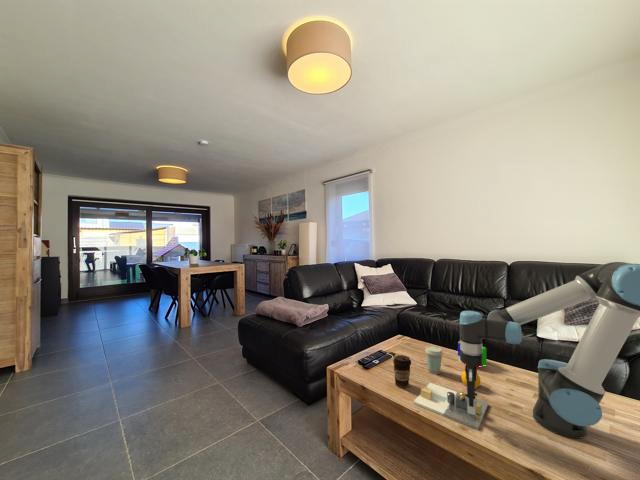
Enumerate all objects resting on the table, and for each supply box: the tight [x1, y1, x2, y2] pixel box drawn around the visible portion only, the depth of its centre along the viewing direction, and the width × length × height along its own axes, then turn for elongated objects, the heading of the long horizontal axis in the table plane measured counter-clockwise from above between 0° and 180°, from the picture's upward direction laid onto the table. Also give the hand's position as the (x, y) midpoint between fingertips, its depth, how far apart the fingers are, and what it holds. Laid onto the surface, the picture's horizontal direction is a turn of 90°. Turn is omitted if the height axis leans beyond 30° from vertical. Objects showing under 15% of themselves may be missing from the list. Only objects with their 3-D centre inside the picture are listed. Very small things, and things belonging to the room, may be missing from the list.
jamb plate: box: [443, 391, 489, 431], centre depth 108 cm, size 12×20×1 cm, turn 139°
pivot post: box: [447, 392, 455, 404], centre depth 112 cm, size 3×3×4 cm
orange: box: [461, 370, 482, 389], centre depth 126 cm, size 8×8×8 cm
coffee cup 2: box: [425, 345, 444, 375], centre depth 140 cm, size 8×8×12 cm
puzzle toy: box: [457, 343, 488, 368], centre depth 150 cm, size 10×10×10 cm
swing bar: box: [456, 391, 482, 414], centre depth 107 cm, size 9×3×5 cm, turn 49°
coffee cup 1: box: [392, 354, 412, 389], centre depth 127 cm, size 9×8×13 cm
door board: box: [413, 382, 458, 417], centre depth 116 cm, size 12×20×4 cm, turn 139°
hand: (471, 412), depth 102 cm, fingers closed
